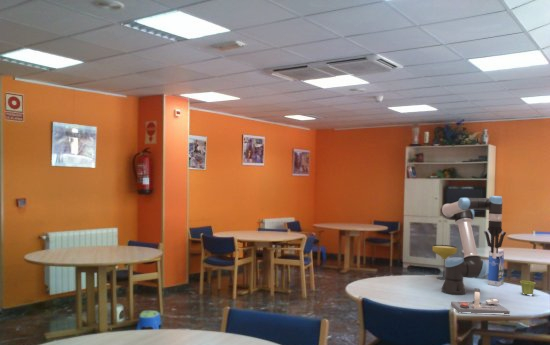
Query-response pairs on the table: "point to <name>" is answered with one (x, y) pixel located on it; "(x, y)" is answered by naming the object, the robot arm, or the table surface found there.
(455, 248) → the cocktail glass
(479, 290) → the black lever
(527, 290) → the plant pot
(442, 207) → the robot arm
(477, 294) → the cream tapered knob
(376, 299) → the table surface
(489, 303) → the rocker
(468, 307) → the panel
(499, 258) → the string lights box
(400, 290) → the table surface
